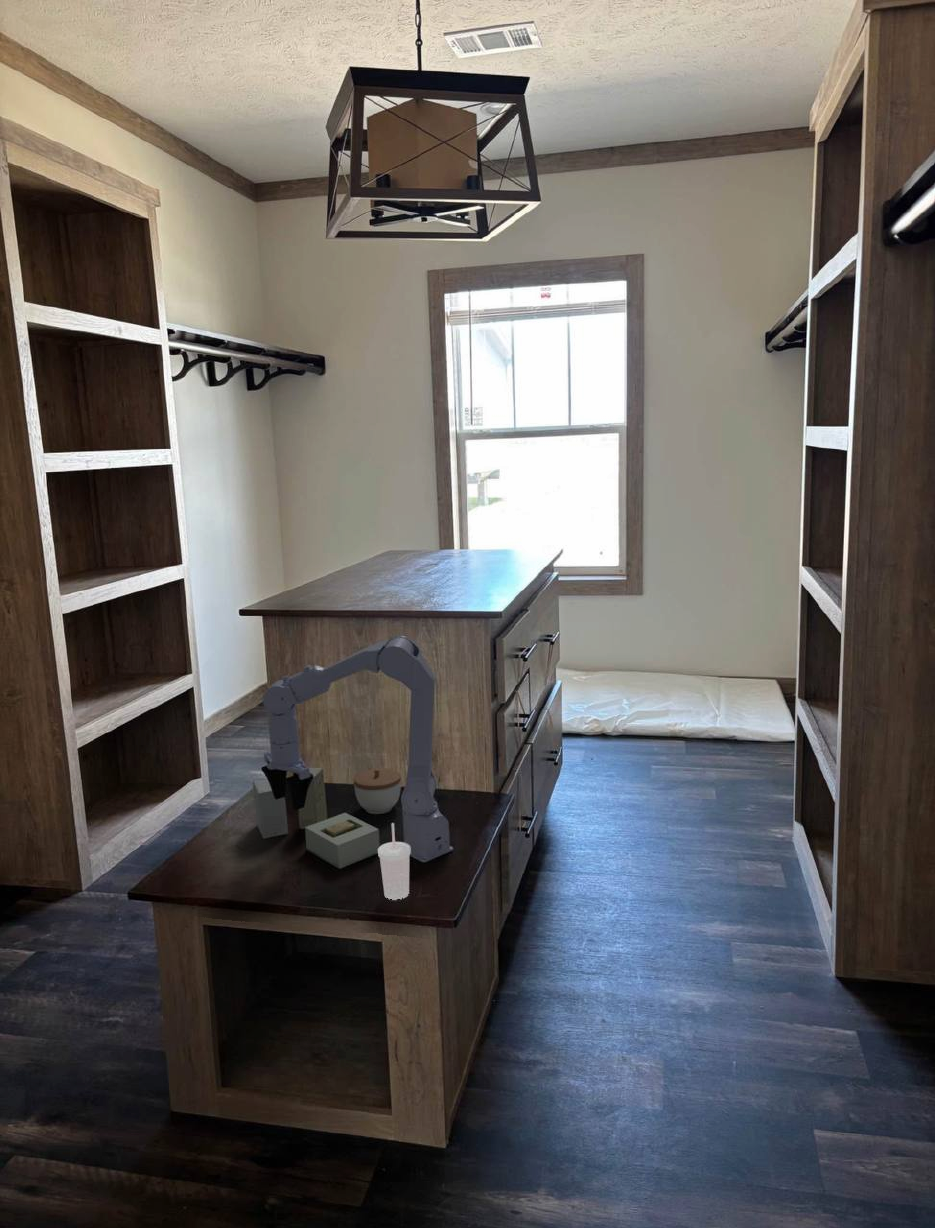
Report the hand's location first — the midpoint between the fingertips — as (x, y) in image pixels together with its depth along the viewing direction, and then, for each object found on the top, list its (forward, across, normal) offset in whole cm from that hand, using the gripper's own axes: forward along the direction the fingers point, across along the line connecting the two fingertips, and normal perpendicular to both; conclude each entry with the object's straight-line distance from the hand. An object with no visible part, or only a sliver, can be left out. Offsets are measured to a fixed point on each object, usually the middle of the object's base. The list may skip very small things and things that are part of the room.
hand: (289, 803), depth 184 cm
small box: (+11, -12, +2) cm, 16 cm away
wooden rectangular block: (+10, +8, +7) cm, 14 cm away
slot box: (+10, +8, +7) cm, 15 cm away
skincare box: (+11, -8, +10) cm, 17 cm away
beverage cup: (+11, +30, +4) cm, 32 cm away
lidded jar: (+11, -4, +25) cm, 27 cm away
